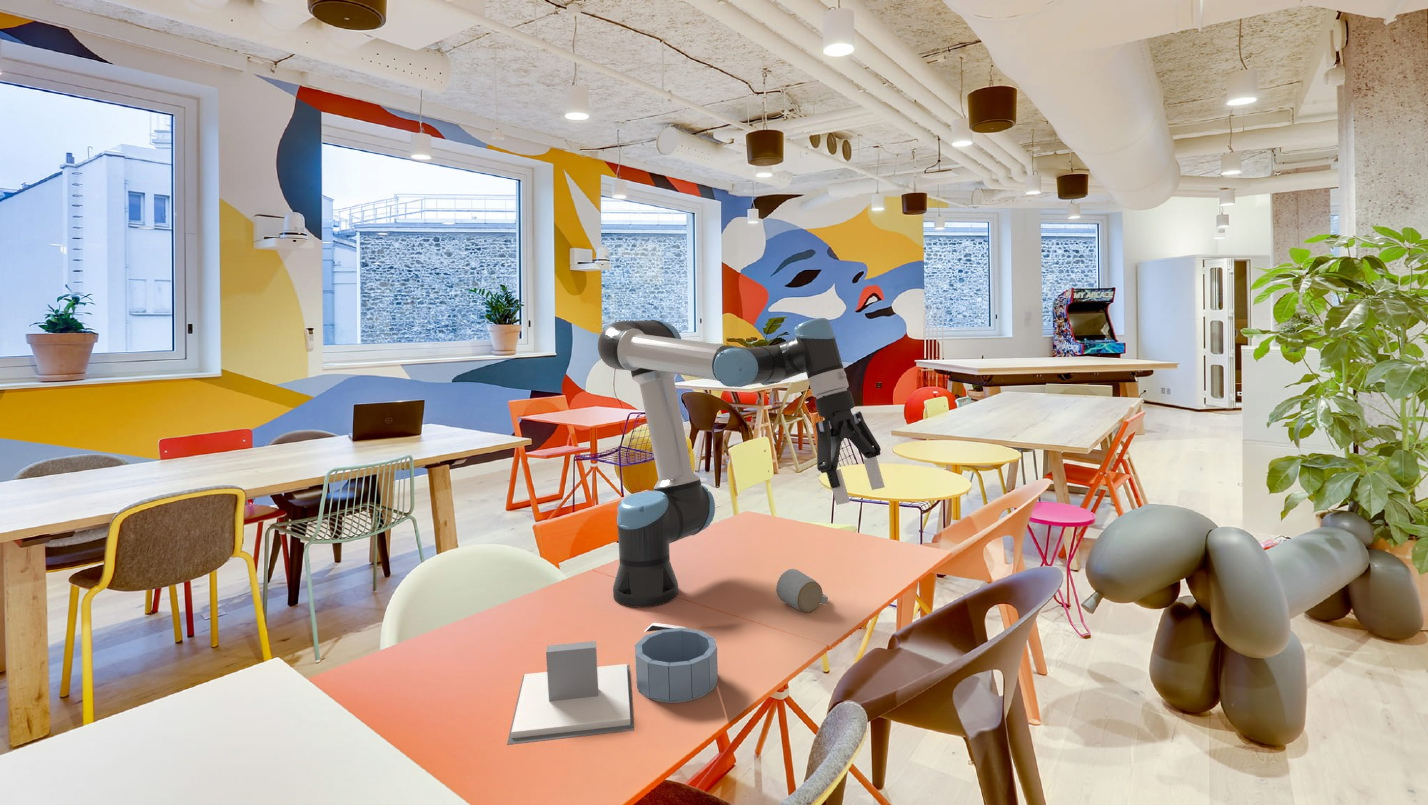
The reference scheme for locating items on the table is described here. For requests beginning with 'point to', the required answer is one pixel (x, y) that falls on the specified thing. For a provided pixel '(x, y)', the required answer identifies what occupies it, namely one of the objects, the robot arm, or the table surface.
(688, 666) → the bowl
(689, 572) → the table surface
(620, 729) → the mat
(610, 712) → the lid
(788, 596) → the ceramic mug
